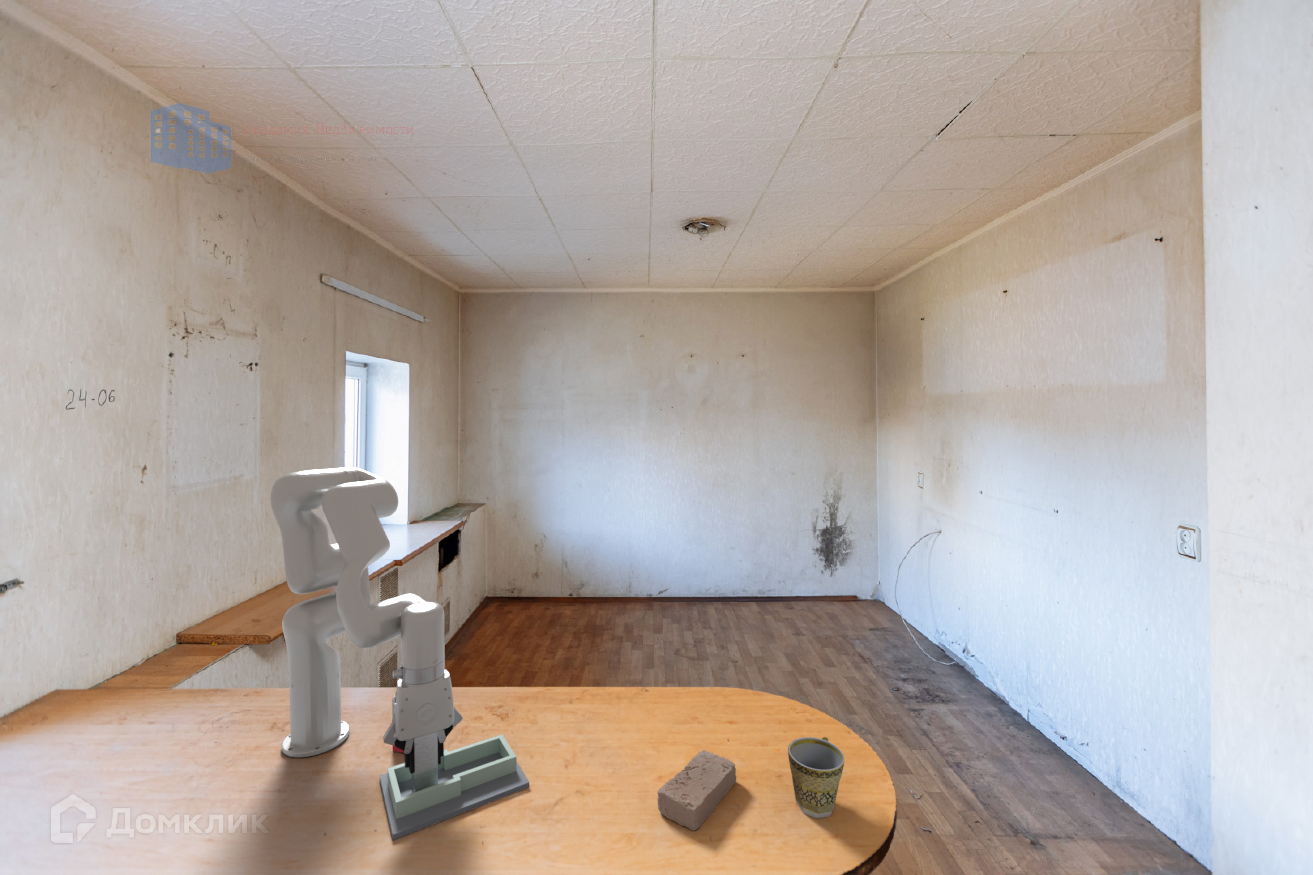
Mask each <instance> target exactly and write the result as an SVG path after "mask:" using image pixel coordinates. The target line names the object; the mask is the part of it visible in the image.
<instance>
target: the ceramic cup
mask: <svg viewBox="0 0 1313 875" xmlns="http://www.w3.org/2000/svg"><path fill="white" fill-rule="evenodd" d="M787 752H788V762H789V769H790V772H791V773H790V774H791V778H792V785H793V791H794V798H795V802H796V804H797V806H798V807H799V809H800V810H801V812H802V813H803V814H805V815H807V816H809V817H812V818H814V819H823V818H827V817H830V816H831V815H832V813H833V811H834V808H835V805H836V800H837V795H838V791H839V785H840V781H841V779H842V775H843V771H844V764H845V755H844V753H843V752H842V750H841V749H840V748H839V747H838V746H836V745H835V744H834V743H831V742H830V741H829V738H828V737H825V736H824V737H822V738H819V737H811V736H810V737H808V736H806V737H799V738H796V739H794V740H792V741H791V742H790V744H789V745H788V748H787Z"/></svg>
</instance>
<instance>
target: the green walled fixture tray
mask: <svg viewBox="0 0 1313 875" xmlns="http://www.w3.org/2000/svg"><path fill="white" fill-rule="evenodd" d="M379 782H380V783H379V784H380V787H381V793H382V797H383V801H384V806H385V811H386V815H387V816H386V817H387V819H388V824H389V828H390V833H391V838H392V841H395V840H398V839H401V838H403V837H406V836H408V835H410V834H413V833H416V832H418V831H422V830H423V829H426V828H429V827H431V826H434V825H436V824H439V823H441V822H443V821H447V820H449V819H451V818H454V817H456V816H459V815H461V814H465V813H467V812H469V811H473V810H475V809H477V808H480V807H482V806H484V805H487V804H490V803H492V802H495V801H498V800H500V799H503V798H505V797H507V796H510V795H513V794H516V793H518V792H521V791H523V790H525V789H528V788H530V780H529V779H528V778H527V776H526V774H525V773H524V771H523V770H522V768H521V766H520V765H519V763H518V762H517V754H515V752H514V750H513V749H512V747H511V746H510V744H509V742H508V741H507V739H506V738H505V736H504V734H503V733H501V734H499V735H496V736H493V737H490V738H487V739H484V740H480V741H477V742H474V743H470V744H467V745H465V746H462V747H458V748H456V749H451V750H450V751H449V750H448V749H444V756H442V757H441V764H439V765H438V784H437V785H434V786H432V787H429V788H426V789H423V790H420V791H417V792H415V793H414V791H413V787H412V784H411V774H410V771H409V767H408V768H405V762H403V763H399V764H396V765H394V766H391V767H387V772H386V773H383V774H379Z"/></svg>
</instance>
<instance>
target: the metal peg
mask: <svg viewBox="0 0 1313 875" xmlns="http://www.w3.org/2000/svg"><path fill="white" fill-rule="evenodd" d="M412 747H413V751H414V773H412V774H411V784H412V787H413V791H414V793H415V792H417V791H420V790H423V789H426V788H429V787H432V786H434V785H437V784H438V733H437V732H434V733H431V734H428V735H424V736H421V737H418V738H414V739H413V744H412Z"/></svg>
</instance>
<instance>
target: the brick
mask: <svg viewBox="0 0 1313 875" xmlns="http://www.w3.org/2000/svg"><path fill="white" fill-rule="evenodd" d="M736 770H737V769H736V764H735V763H734V762H733V761H732V760H729V759H728V758H726V757H724V756H720V755H718V754H715V753H713V752H710V751H708V750H706V749H703V750H701V751H699V752H698V753H697V754H695V755H694V756H693V757H692V758H691V759H690V760H689V761H688V763H687V764H686V765H685V766H684V768H683V769H681V770H680V771H679V772H677V773H676V774H675V776H674V777H672V778H670V779H669V780H668V781H667V782H665V784H663V785H662V786H661V787H659V789H658V790H657V809H658V810H659V812H660V813H661V814H662V815H663V816H664V817H666V818H667V819H668V820H670V821H674V822H675V823H677V824H678V825H679V826H681V827H682V826H683V827H685V828H687V829H689V830H691V831H693V832H694V831H697V830H698V829H700V827H702V826H703V825H704V824H705V820H708V819H709V817H710V816H711V815H712V813H713V812H714V811H715V810H716V809H717V806H719V804H720V802H722V801H723V799H724V798H725V796H726V795H727V794H728V793H729V792H730V791H731V790H732V788H733V786H734V785H735V784H736V782H737V775H736V773H737V772H736Z"/></svg>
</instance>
